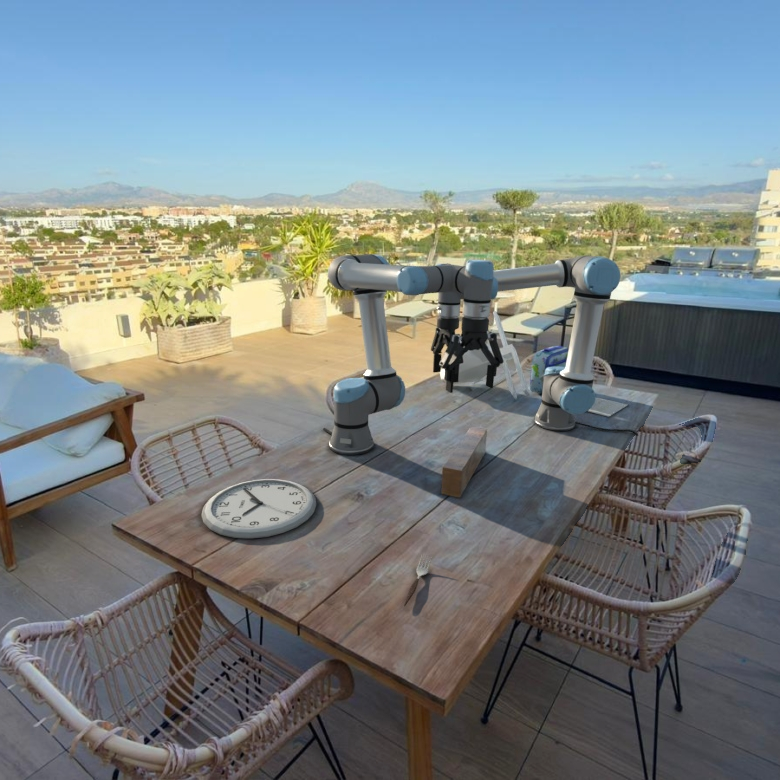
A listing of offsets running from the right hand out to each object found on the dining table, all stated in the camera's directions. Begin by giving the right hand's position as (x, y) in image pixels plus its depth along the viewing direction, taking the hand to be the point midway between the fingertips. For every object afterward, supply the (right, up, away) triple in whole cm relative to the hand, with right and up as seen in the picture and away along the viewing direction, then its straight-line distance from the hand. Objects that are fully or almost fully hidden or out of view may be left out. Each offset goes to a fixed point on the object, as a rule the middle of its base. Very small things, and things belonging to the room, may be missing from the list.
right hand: (445, 377), depth 183 cm
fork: (-14, -46, -72) cm, 86 cm away
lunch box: (+57, -5, +64) cm, 85 cm away
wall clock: (-54, -36, -42) cm, 78 cm away
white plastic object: (+22, -6, +60) cm, 64 cm away
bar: (+4, -30, -19) cm, 36 cm away
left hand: (+4, -4, -30) cm, 31 cm away
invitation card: (+72, -12, +43) cm, 85 cm away
